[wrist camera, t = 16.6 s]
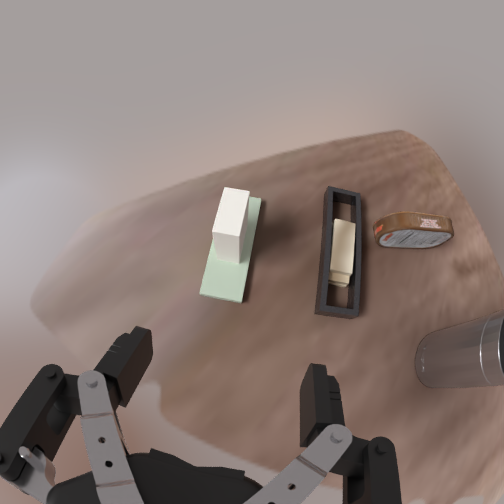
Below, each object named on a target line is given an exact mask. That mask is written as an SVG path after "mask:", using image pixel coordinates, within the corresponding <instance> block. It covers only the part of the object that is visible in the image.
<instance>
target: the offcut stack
mask: <svg viewBox="0 0 504 504" xmlns="http://www.w3.org/2000/svg"><path fill="white" fill-rule="evenodd" d="M354 243H355V223H351V222H347V221H343V220H340V219H335V220H334V223H332V234H331V251H330V266H329V278H328V284H330V285H334V286H339V287H344V288H345V287H346V285H348V284H349V276H350V275H351V274H352V269H353V257H354Z"/></svg>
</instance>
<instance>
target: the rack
mask: <svg viewBox="0 0 504 504" xmlns="http://www.w3.org/2000/svg"><path fill="white" fill-rule="evenodd" d="M333 201H337V202H341V203H346V204H350V205H351V223H355V243H354V257H353V269H352V274H351V275H350V276H349V290H348V303H347V308H340V307H334V306H327V305H326V300H327V290H328V278H329V266H330V251H331V234H332V210H333ZM360 281H361V198H360V193H356V192H352V191H348V190H343V189H339V188H335V187H330V186H328V188H327V190H326V192H325V194H324V210H323V227H322V241H321V254H320V266H319V277H318V287H317V296H316V305H315V313H314V314H318V315H325V316H332V317H339V318H347V319H353V318H355V317H357V316H358V314H359V300H360Z"/></svg>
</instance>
